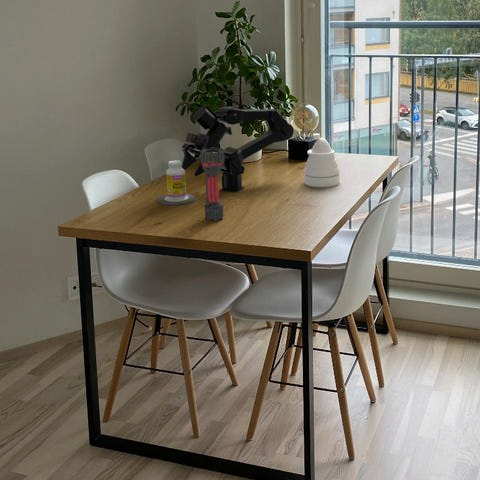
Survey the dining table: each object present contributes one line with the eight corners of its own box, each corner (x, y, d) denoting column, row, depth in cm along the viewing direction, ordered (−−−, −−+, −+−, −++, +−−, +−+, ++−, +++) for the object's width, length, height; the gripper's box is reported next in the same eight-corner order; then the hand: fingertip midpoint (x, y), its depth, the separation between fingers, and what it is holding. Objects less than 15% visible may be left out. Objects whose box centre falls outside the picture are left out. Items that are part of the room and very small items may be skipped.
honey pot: (299, 185, 323) (299, 137, 318) (310, 177, 334) (310, 130, 329) (333, 188, 318) (333, 138, 313) (343, 179, 330) (343, 131, 324)
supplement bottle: (171, 201, 304) (169, 164, 301) (164, 197, 310) (162, 161, 306) (189, 198, 307) (187, 162, 303) (181, 194, 313) (179, 158, 309)
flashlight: (218, 224, 280) (215, 152, 273) (198, 221, 284) (194, 150, 277) (231, 217, 286) (229, 147, 279) (211, 214, 290) (208, 146, 283)
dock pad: (202, 197, 311) (202, 195, 311) (182, 207, 300) (182, 204, 300) (171, 194, 317) (171, 192, 317) (150, 203, 307) (150, 200, 306)
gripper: (184, 120, 314) (159, 155, 312) (212, 127, 299) (186, 164, 297) (204, 138, 321) (180, 173, 318) (233, 146, 306) (208, 183, 303)
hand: (188, 173), depth 309 cm, fingers open, 9 cm apart
